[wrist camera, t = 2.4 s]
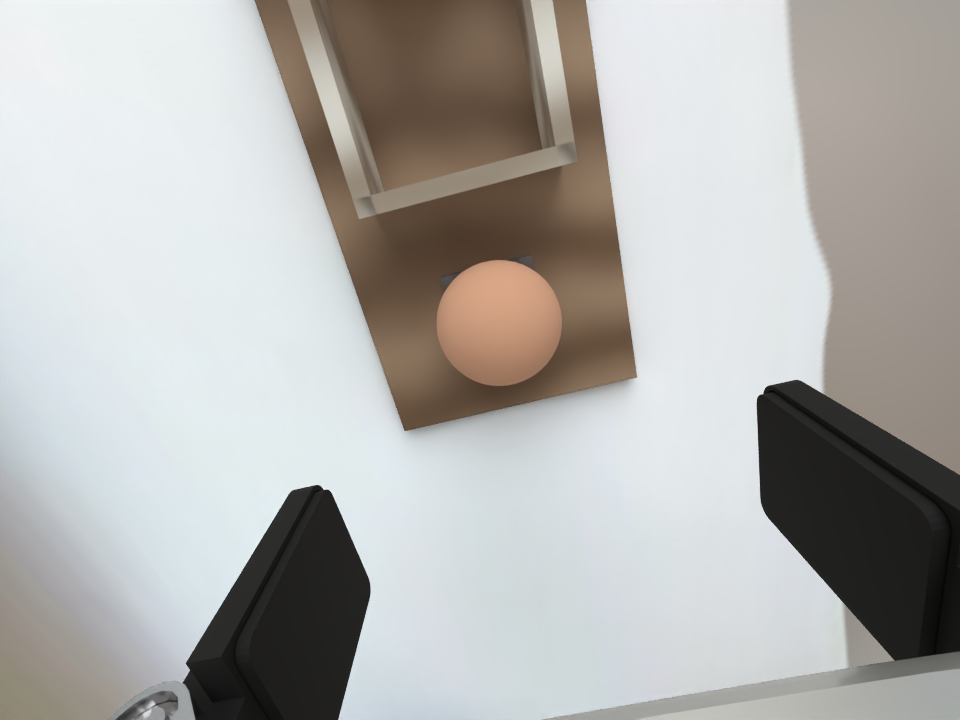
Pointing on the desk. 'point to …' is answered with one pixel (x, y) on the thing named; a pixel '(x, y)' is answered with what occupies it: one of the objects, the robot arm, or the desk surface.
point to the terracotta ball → (499, 322)
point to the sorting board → (460, 176)
